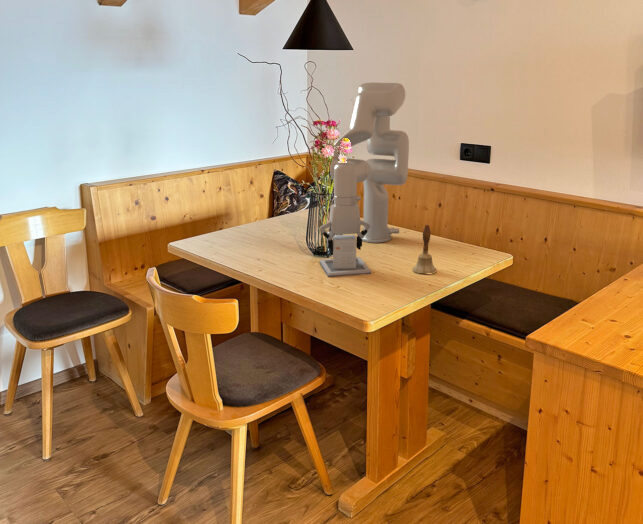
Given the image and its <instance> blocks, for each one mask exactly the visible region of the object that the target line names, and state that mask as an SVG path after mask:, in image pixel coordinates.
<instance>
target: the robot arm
mask: <svg viewBox="0 0 643 524" xmlns="http://www.w3.org/2000/svg"><path fill="white" fill-rule="evenodd" d="M405 100H406V90H405V87H404V85H403V84H401V83H398V82H364V83H362V84H360V85H359V86H358V88H357V95H356V96H355V99H354V103H353V109H352V112H351V117H350V122H349V127H348V130H347V131H345V132H344V133H343V134H341V135H340V136H339V138H338V139H337V140H336V142H335V143H333V145H335V146H340V144H341V142H340V141H342V139H343V138H348V139H349V140H350V142H351V147H353V146H356V145H358V144H361V143H363V142H366V150H367V152H368V153H369V154H371V155H373V156H386V157H387V156H388V157H394V159H390V158H389V159H387V158H369V159H366V160H364V159H356V158H346V159H347V160H346V161H347V163H338V152H337V149H336V148H335V151H334V158H333V160H332V162H331V165H330V175H331V178H330V179H331V180H333V179H334V180H333V203H332V204H331V205H330V209H329V210H330V212H329V220H328V222H326V223H324V224H322V225H321V226H319V230H320V232H321V234H322V235H323V237H325V238H326V239H327V249H328V250H329V251H330V252H331V253H333V237H334V236H335V235H356V249H358V250H359V251H360V250H361V248H362V246H363V242H366V243H373V244H376V243H377V244H378V243H386V242H389V241H390V240H392V234H395V235H396V234H400V229H399V228H395V227H389V226H388V219H389V218H388V216H389V212H388V211H389V193H388V191H387V189H386V188H385V186H384V185H388V186H389V185H390V186H403V185H404V184H406V182H407V179H408V175H409V174H408V172H409V152H410V151H409V150H410V140H409V136H408V134H407V133H406V132H405V131H403V130H397V129H396V130H392V129H391V127H390V126H391V125H390V124H391V117H392V116H393V115H395V114H396V113H397V112H398V110H400V109H401V107H402V106H403V104H404V102H405ZM358 183H362V184H363V185H362V186H363V215H362V216H363V219H362V220H361V213H360V207H359V206H360V205H359V203H358V201H361V199H362V198H361V196H359V195H357V185H358ZM361 226H363V227H362V230H361ZM326 229H329V232H327V231H326Z"/></svg>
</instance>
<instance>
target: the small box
mask: <svg viewBox="0 0 643 524" xmlns="http://www.w3.org/2000/svg"><path fill="white" fill-rule="evenodd" d="M332 240H333V251H332V259H333V269H356V257H357V247H356V241H357V234H341V235H335V236H334V237H333V238H332Z"/></svg>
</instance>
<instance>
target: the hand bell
mask: <svg viewBox="0 0 643 524" xmlns="http://www.w3.org/2000/svg"><path fill="white" fill-rule="evenodd" d="M430 240H431V229H430V225H429V224H425V226H424V228H423V231H422V241H423V248H422V253H420V254H419V255H418V258H417V260H416V261H417V262H416V264H415V266H413V267H412V269H411V270H413V271H414V272H413V271H412V272H413V273H415V272H417V273H416V274H418V273H425V274H427V273H433V272H435V271H436V270H437V268H436V267H435V265H434V264H433V256H432V255H431V254H429V243H430ZM425 274H424V275H425ZM427 275H428V274H427Z"/></svg>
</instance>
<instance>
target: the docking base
mask: <svg viewBox="0 0 643 524" xmlns="http://www.w3.org/2000/svg"><path fill="white" fill-rule="evenodd" d="M318 263H319V265H320V267H321V269H322V270H323V272H324V273H325V275H326V276H327V277H328V278H331V277H333V278H334V277H346V276H357V275H358V276H360V275H372V271H371V269H370V267H369V266H368V265H367V264H366V262H365V261H364V260H363V259H362V258H361V257H360V256H356V269H333V258H326V259H325V258H324V259H323V258H322V259H319V262H318Z"/></svg>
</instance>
